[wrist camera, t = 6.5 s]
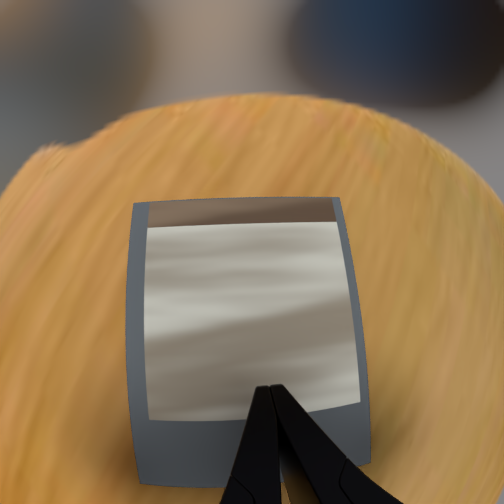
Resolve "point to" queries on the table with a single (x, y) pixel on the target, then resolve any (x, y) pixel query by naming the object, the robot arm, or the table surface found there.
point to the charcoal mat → (228, 431)
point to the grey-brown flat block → (245, 307)
